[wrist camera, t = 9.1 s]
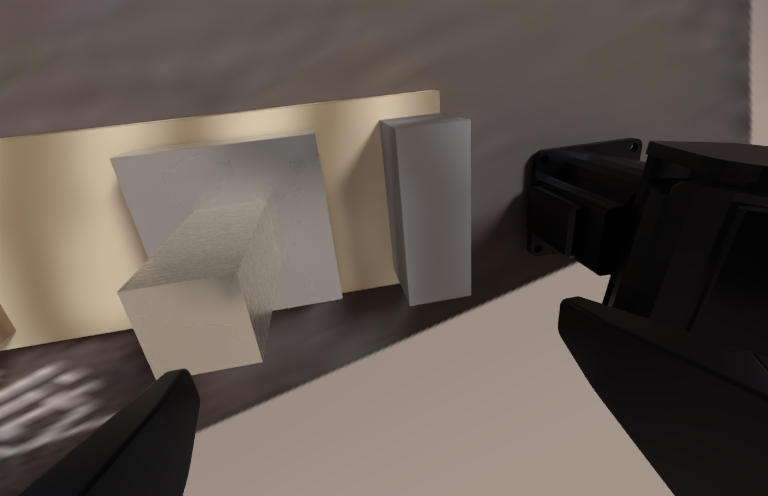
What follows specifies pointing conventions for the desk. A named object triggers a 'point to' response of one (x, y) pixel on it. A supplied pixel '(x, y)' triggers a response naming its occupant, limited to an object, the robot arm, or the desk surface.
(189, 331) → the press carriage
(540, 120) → the desk surface
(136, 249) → the base
